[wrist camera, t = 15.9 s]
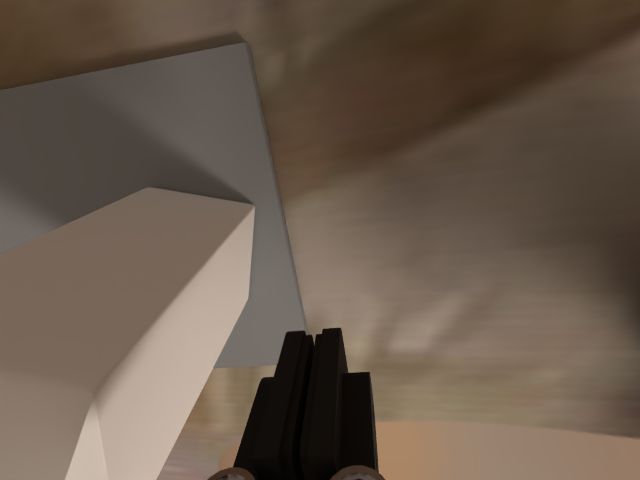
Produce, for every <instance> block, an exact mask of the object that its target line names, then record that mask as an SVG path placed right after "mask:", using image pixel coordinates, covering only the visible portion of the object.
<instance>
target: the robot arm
mask: <svg viewBox="0 0 640 480" xmlns="http://www.w3.org/2000/svg"><path fill="white" fill-rule="evenodd" d="M208 480H385V479H384V478H383V476H382V475H381V474H379V471H378V456H377V442H376V429H375V415H374V404H373V394H372V386H371V378H370V372H359V373H348V368H347V362H346V355H345V349H344V342H343V336H342V330H341V328H330V329H323V331H322V334H317V335H316V339H315V346H314V342H313V337H312V335H306V332H305V331H304V330H302V331H287V332H286V334H285V338H284V342H283V345H282V349H281V353H280V356H279V360H278V364H277V367H276V371H275V374H274V377H264V378H262V379H261V381H260V384H259V387H258V390H257V393H256V396H255V399H254V403H253V406H252V409H251V412H250V415H249V418H248V421H247V425H246V428H245V431H244V434H243V437H242V440H241V444H240V447H239V450H238V453H237V456H236V459H235V463H234V466H233V467H232V468H227V469H224V470H221V471H219V472H217V473H216V474H214V475H212V476H211V477H210V478H209V479H208Z"/></svg>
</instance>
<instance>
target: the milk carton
mask: <svg viewBox="0 0 640 480" xmlns="http://www.w3.org/2000/svg"><path fill="white" fill-rule="evenodd" d="M254 215H255V206H254V205H252V204H247V203H242V202H236V201H230V200H224V199H218V198H212V197H206V196H200V195H195V194H189V193H183V192H177V191H171V190H165V189H159V188H152V187H147V188H144V189H142V190H140V191H138V192H136V193H133V194H131V195H129V196H127V197H125V198H123V199H120V200H118V201H116V202H114V203H112V204H109V205H107V206H105V207H103V208H101V209H99V210H96V211H94V212H92V213H90V214H88V215H85V216H83V217H81V218H79V219H77V220H74V221H72V222H70V223H68V224H66V225H64V226H61V227H59V228H57V229H55V230H53V231H50V232H48V233H46V234H44V235H42V236H40V237H37V238H35V239H33V240H31V241H29V242H26V243H24V244H22V245H20V246H18V247H15V248H13V249H11V250H9V251H7V252H5V253H2V254H0V480H156V479H157V477H158V475H159V473H160V471H161V469H162V467H163V465H164V463H165V461H166V459H167V457H168V455H169V453H170V452H171V450H172V448H173V446H174V444H175V442H176V440H177V438H178V436H179V434H180V432H181V430H182V428H183V426H184V424H185V422H186V420H187V418H188V416H189V414H190V412H191V410H192V408H193V406H194V404H195V402H196V400H197V398H198V396H199V394H200V393H201V391H202V389H203V387H204V385H205V383H206V381H207V379H208V377H209V375H210V373H211V371H212V369H213V367H214V365H215V363H216V361H217V359H218V357H219V355H220V353H221V351H222V349H223V347H224V345H225V343H226V341H227V339H228V337H229V335H230V334H231V332H232V330H233V328H234V326H235V324H236V322H237V320H238V318H239V316H240V314H241V312H242V310H243V308H244V306H245V304H246V302H247V300H248V297H249V284H250V270H251V256H252V243H253V229H254Z"/></svg>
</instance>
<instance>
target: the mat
mask: <svg viewBox="0 0 640 480" xmlns="http://www.w3.org/2000/svg"><path fill="white" fill-rule="evenodd" d="M147 187H152V188H159V189H165V190H171V191H177V192H183V193H189V194H195V195H200V196H206V197H212V198H218V199H224V200H230V201H236V202H242V203H247V204H252V205H254V206H255V215H254V229H253V243H252V256H251V270H250V284H249V297H248V300H247V302H246V304H245V306H244V308H243V310H242V312H241V314H240V316H239V318H238V320H237V322H236V324H235V326H234V328H233V330H232V332H231V334H230V335H229V337H228V339H227V341H226V343H225V345H224V347H223V349H222V351H221V353H220V355H219V357H218V359H217V361H216V363H215V365H214V367H213V368H228V367H245V366H263V365H277V364H278V360H279V356H280V353H281V349H282V345H283V342H284V338H285V334H286V332H287V331H302V330H304V331H305V332H306V335H308V330H307V325H306V320H305V315H304V310H303V305H302V301H301V296H300V291H299V286H298V281H297V276H296V271H295V266H294V261H293V257H292V252H291V247H290V242H289V237H288V232H287V227H286V222H285V217H284V212H283V208H282V203H281V198H280V193H279V188H278V183H277V178H276V173H275V168H274V164H273V159H272V154H271V149H270V144H269V139H268V134H267V129H266V124H265V119H264V115H263V110H262V105H261V100H260V95H259V90H258V85H257V80H256V75H255V71H254V66H253V61H252V56H251V51H250V46H249V44H248V43H246V42H242V43H237V44H232V45H227V46H222V47H217V48H211V49H206V50H201V51H196V52H191V53H186V54H181V55H176V56H171V57H166V58H161V59H156V60H150V61H145V62H140V63H135V64H130V65H125V66H120V67H115V68H110V69H105V70H100V71H94V72H89V73H84V74H79V75H74V76H69V77H64V78H59V79H54V80H49V81H44V82H39V83H33V84H28V85H23V86H18V87H13V88H8V89H3V90H0V254H2V253H5V252H7V251H9V250H11V249H13V248H15V247H18V246H20V245H22V244H24V243H26V242H29V241H31V240H33V239H35V238H37V237H40V236H42V235H44V234H46V233H48V232H50V231H53V230H55V229H57V228H59V227H61V226H64V225H66V224H68V223H70V222H72V221H74V220H77V219H79V218H81V217H83V216H85V215H88V214H90V213H92V212H94V211H96V210H99V209H101V208H103V207H105V206H107V205H109V204H112V203H114V202H116V201H118V200H120V199H123V198H125V197H127V196H129V195H131V194H133V193H136V192H138V191H140V190H142V189H144V188H147Z"/></svg>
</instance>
